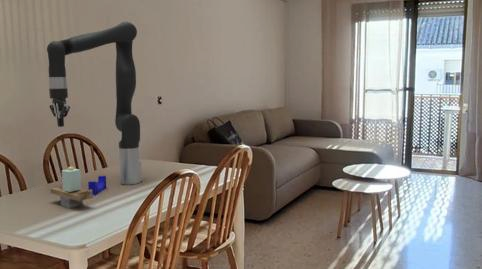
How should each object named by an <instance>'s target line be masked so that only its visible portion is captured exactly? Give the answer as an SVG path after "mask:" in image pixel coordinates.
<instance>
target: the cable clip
mask: <svg viewBox="0 0 482 269" xmlns="http://www.w3.org/2000/svg"><path fill="white" fill-rule="evenodd" d="M97 178H98V179H97V181H96V180H95V181H91V180H90V181H88V182H87V183H88V184H87V186H88V190H92V193H93V196H97V195H99V194H100V193H101V192H103V191H104V190H106V189H107V175H98V177H97Z"/></svg>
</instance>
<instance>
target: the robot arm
mask: <svg viewBox="0 0 482 269" xmlns="http://www.w3.org/2000/svg"><path fill="white" fill-rule="evenodd" d="M137 35H138V30H137V28H136V26H135V25H134V24H133V23H132V22H131V21H129V22H128V21H122V22H120V23H119V24H117V25H115V26H112V27H110V28H107V29H103V30H98V31H94V32H88V33H84V34H80V35H75V36H72V37H69V38H66V39H61V40H53V41H51V42H49V43H48V44H47V46H46V52H47V56H48V57H47V58H48V92H49V99H50V100H51V99H52V104H50V105H49V106H48V107H49V110H50V111H51V114H52V115H53V117H55V119H56V121H57V123H56V124H57V127H58V128H60V127H61V128H62V127H64V126H65V120H64V119H65V118H66V117H68V115H69V114H68V113H69V112H70V109H71V106H70V105H67V100H66V99H68V97H69V94H68V93H69V92H68V81H67V70H66V56H68V55H72V54H76V53H82V52H86V51H90V50H92V49H96V48H99V47H102V46H105V45H109V44H114V43H115V51H116V52H115V53H116V55H115V56H116V59H115V91H116V92H115V94H116V95H115V97H116V109H115V117H114V118H115V119H114V120H115V121H114V123H115V128H116V129H117V130H118V131H119V132H121V140H120V141H118V153H119V154H118V155H119V156H118V157H119V158H118V159H119V175H120V176H119V178H120V184H121V185H137V184H139V183H141V182H142V181H143V176H142V162H141V161H140V147H139V146H140V142H141V122H140V120H139V117H138V116H137V115H135V114H133V113H132V102H133V97H134V94H135V91H136V87H137V76H136V75H137V73H136V72H137V70H136V66H135V60H134V58H133V57H134V56H133V43H134V42H133V41H134V40H135V39H136V37H137Z"/></svg>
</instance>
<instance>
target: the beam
mask: <svg viewBox="0 0 482 269" xmlns="http://www.w3.org/2000/svg"><path fill="white" fill-rule="evenodd" d="M49 190H50V194H53V195H56V196H59V198H60V206H61V207H65V208H67V209H72V208H76V207H79V206H82V205H83V204H84V203H83V201H85V200H88V199H89V200H90V199H93V198H94V195H93V193H92V190H89V189H88V190H83V189H81V190H76V191H72V192H68V191H65V190H63V185H60V186H55V187H51V188H50V189H49Z"/></svg>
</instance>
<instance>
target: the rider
mask: <svg viewBox="0 0 482 269" xmlns="http://www.w3.org/2000/svg"><path fill="white" fill-rule="evenodd" d="M81 175H82V174H81V169H80V168H79V169H78V168H74V166H68V167H67V169H62V170H61V178H62V179H61V181H62V186H63V190H65V191H68V192H72V191H76V190H82V178H81Z"/></svg>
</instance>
